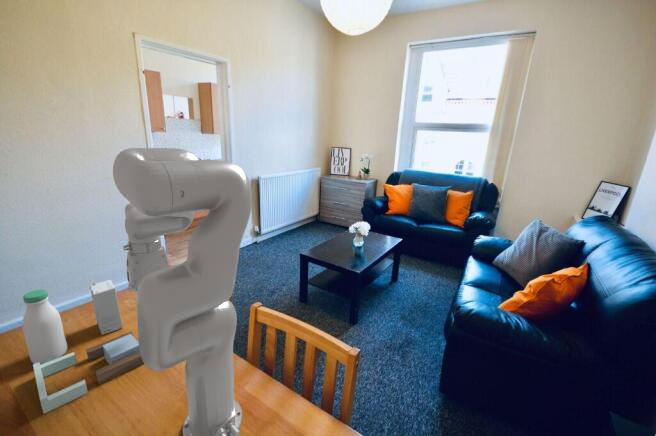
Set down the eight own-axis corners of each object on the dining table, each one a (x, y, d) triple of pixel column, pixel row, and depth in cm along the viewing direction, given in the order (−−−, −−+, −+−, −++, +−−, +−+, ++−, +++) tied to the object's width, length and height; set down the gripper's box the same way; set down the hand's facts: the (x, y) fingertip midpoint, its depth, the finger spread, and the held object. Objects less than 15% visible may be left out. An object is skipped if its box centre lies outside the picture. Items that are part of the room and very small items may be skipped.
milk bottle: (70, 355, 84) (56, 293, 78) (32, 370, 78) (14, 304, 73) (66, 342, 89) (52, 283, 83) (30, 354, 83) (13, 292, 78)
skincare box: (123, 328, 96) (116, 288, 92) (100, 336, 92) (92, 294, 88) (118, 316, 102) (111, 278, 98) (96, 323, 98) (88, 283, 93)
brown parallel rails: (146, 362, 83) (145, 353, 82) (99, 384, 75) (97, 375, 74) (132, 339, 91) (131, 331, 90) (87, 358, 83) (86, 349, 82)
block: (141, 357, 85) (140, 344, 84) (113, 371, 79) (111, 357, 78) (132, 346, 89) (130, 333, 88) (105, 358, 84) (102, 345, 82)
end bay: (87, 392, 72) (85, 379, 71) (43, 414, 67) (40, 400, 66) (75, 360, 82) (73, 348, 81) (36, 376, 76) (32, 364, 75)
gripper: (118, 256, 74) (126, 318, 79) (178, 243, 85) (183, 298, 90) (109, 247, 79) (118, 306, 84) (168, 235, 90) (173, 288, 95)
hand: (152, 301), depth 87 cm, fingers closed
